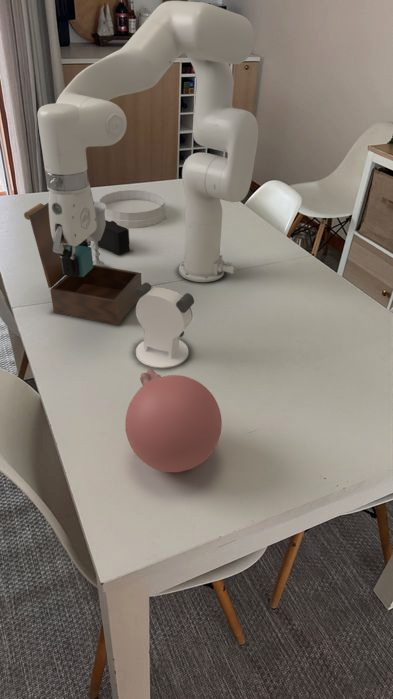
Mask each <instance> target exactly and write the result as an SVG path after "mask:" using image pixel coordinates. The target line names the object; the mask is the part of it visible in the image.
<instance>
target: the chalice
mask: <svg viewBox="0 0 393 699" xmlns="http://www.w3.org/2000/svg"><path fill="white" fill-rule="evenodd" d="M94 207H95V214H96V223H97V228H96V230H95V231H94V232H93V233H92V234H91V236H90V240H91V242H93V245H94V246H93V250H94V252H93V256H94V257H95V260H94V261H93V265H98V266H104V267H107V266H106V264H105V262H104V261H102V260H100V255H101V253H100V252H99V249H100V247H99V246H98V241H100V240H101V237H102V235H103V232H104V229H105V225H106V223H105V208H106V205H105V204H104V203H101V202H100V201H94Z"/></svg>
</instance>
